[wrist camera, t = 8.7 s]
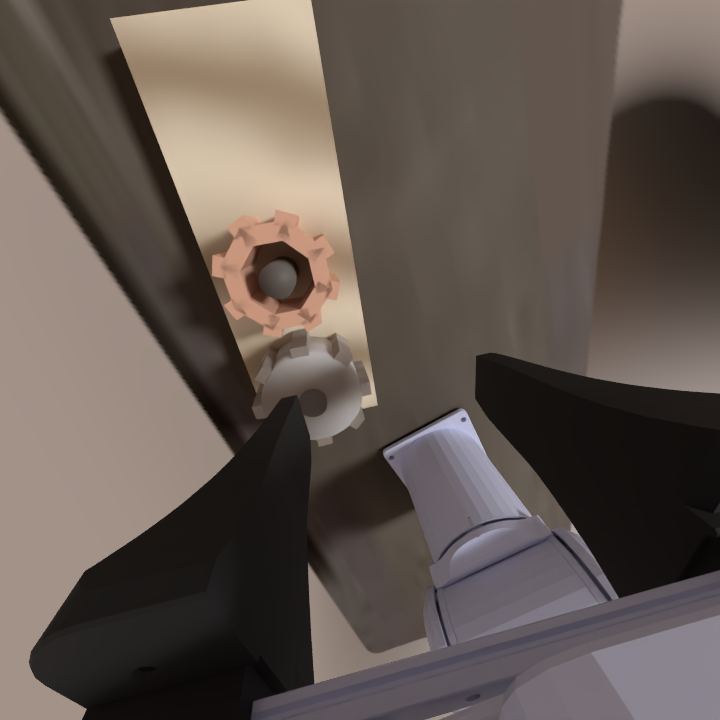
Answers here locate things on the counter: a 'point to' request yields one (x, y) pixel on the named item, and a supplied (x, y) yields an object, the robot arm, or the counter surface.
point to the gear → (245, 283)
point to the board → (259, 182)
